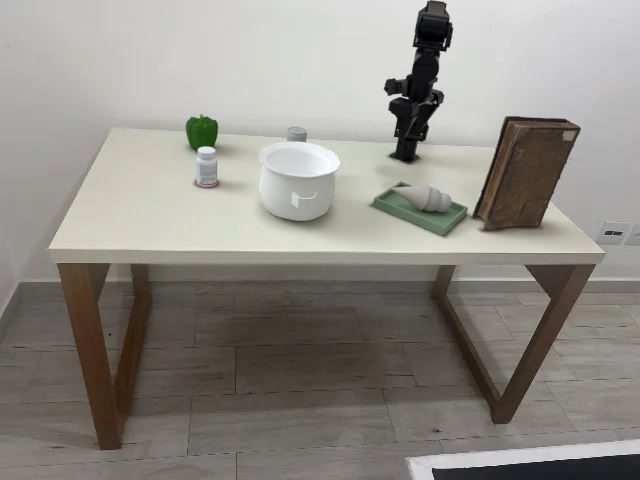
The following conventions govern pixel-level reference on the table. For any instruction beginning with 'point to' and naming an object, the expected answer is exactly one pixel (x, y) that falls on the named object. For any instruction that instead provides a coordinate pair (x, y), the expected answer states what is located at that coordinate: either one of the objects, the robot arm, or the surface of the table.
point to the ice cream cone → (425, 198)
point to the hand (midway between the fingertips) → (410, 134)
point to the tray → (419, 211)
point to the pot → (297, 179)
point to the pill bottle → (206, 167)
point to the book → (525, 171)
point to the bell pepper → (201, 132)
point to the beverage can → (296, 134)
